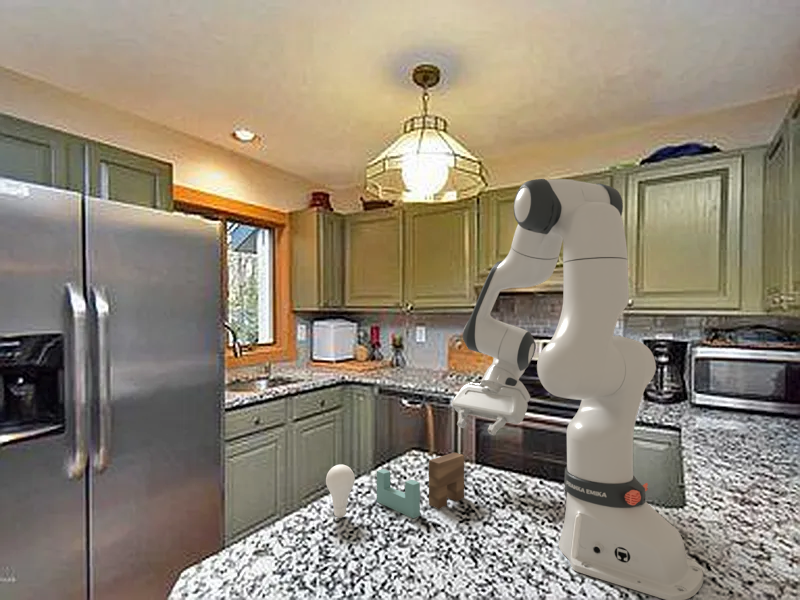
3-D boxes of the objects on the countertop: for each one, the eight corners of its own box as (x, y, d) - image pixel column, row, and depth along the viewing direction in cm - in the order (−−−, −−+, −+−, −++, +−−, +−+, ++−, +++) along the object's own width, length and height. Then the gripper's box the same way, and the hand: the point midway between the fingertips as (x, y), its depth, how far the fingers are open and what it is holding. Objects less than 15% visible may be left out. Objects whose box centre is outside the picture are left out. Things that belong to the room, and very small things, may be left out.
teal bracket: (419, 515, 97) (419, 482, 97) (413, 518, 95) (413, 484, 96) (383, 499, 105) (383, 469, 106) (376, 501, 104) (376, 470, 104)
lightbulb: (349, 525, 92) (349, 470, 93) (321, 522, 93) (321, 468, 94) (358, 512, 98) (358, 461, 99) (331, 510, 99) (331, 459, 100)
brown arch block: (464, 497, 106) (464, 455, 107) (438, 509, 100) (438, 463, 101) (454, 494, 108) (454, 452, 109) (428, 504, 102) (428, 460, 103)
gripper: (461, 374, 125) (438, 415, 118) (526, 382, 111) (504, 429, 103) (471, 389, 128) (449, 429, 121) (536, 398, 113) (515, 445, 106)
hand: (475, 429), depth 112 cm, fingers open, 8 cm apart
